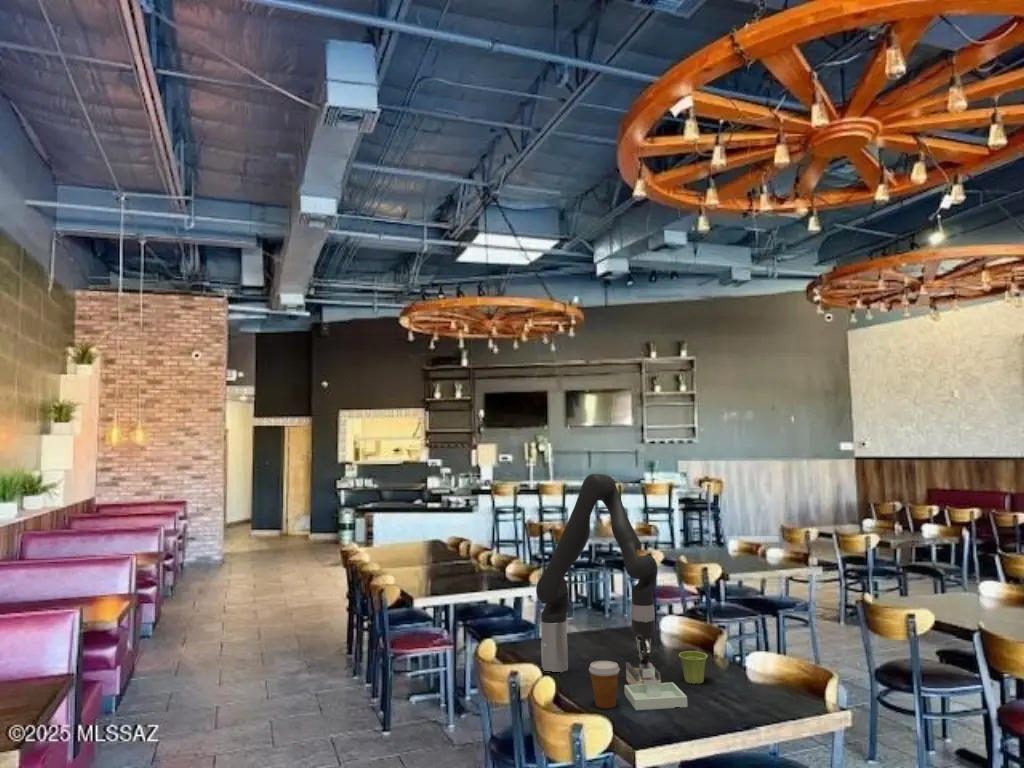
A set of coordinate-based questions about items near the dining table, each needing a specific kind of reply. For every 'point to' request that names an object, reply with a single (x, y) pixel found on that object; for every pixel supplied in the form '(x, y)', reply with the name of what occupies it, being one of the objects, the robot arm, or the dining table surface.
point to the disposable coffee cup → (604, 683)
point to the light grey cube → (647, 671)
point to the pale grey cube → (651, 688)
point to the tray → (667, 699)
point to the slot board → (634, 677)
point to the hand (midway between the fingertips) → (644, 670)
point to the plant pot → (693, 666)
